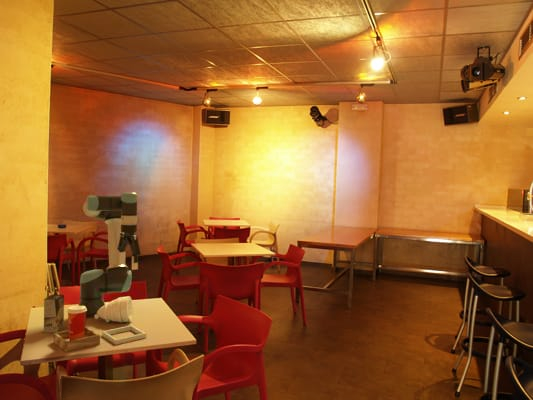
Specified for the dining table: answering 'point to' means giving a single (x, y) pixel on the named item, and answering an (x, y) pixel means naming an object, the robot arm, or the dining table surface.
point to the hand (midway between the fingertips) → (128, 267)
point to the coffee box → (53, 313)
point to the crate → (67, 345)
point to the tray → (126, 339)
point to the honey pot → (117, 310)
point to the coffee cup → (76, 322)
